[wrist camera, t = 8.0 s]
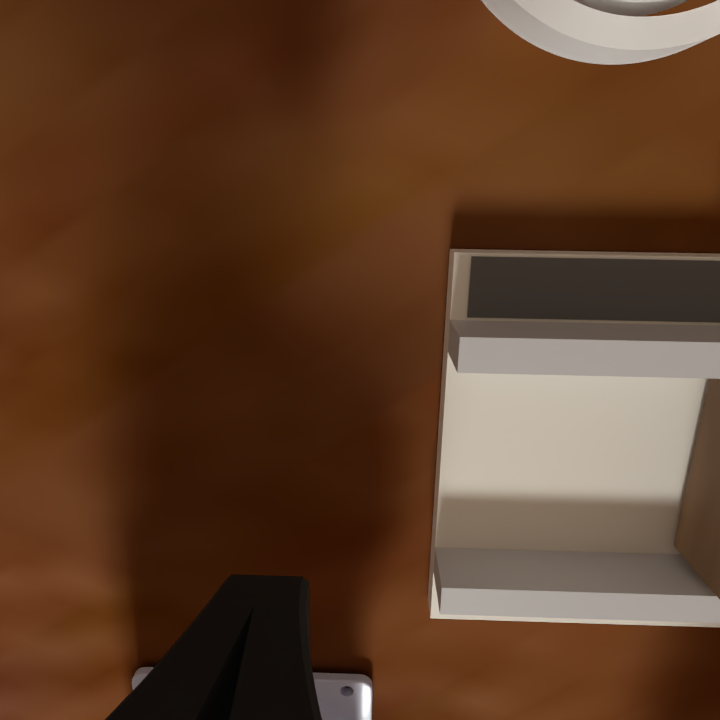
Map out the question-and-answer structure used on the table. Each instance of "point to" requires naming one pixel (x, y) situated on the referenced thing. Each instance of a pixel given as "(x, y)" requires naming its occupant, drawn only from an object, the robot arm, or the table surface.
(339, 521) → the table surface
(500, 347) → the gauge base
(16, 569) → the table surface
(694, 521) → the gauge slider
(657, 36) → the white stepped post
